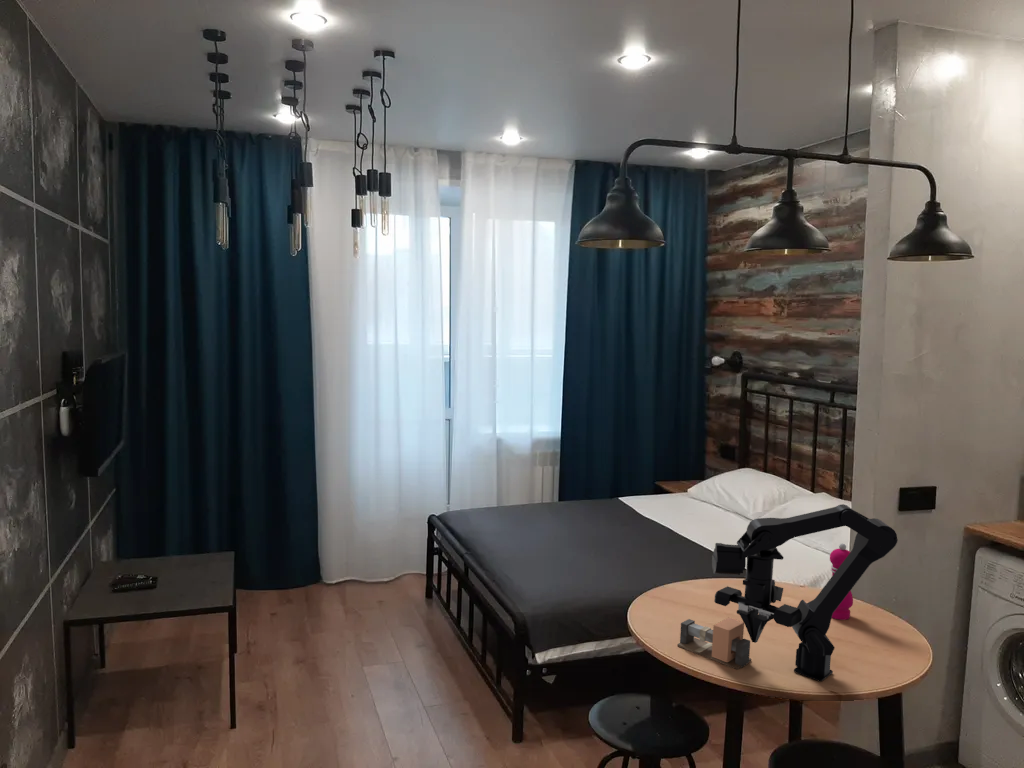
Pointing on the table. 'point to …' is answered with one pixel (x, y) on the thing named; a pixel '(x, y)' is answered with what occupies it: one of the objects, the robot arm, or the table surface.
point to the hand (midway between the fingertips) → (754, 641)
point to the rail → (705, 649)
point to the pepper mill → (836, 560)
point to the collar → (726, 638)
